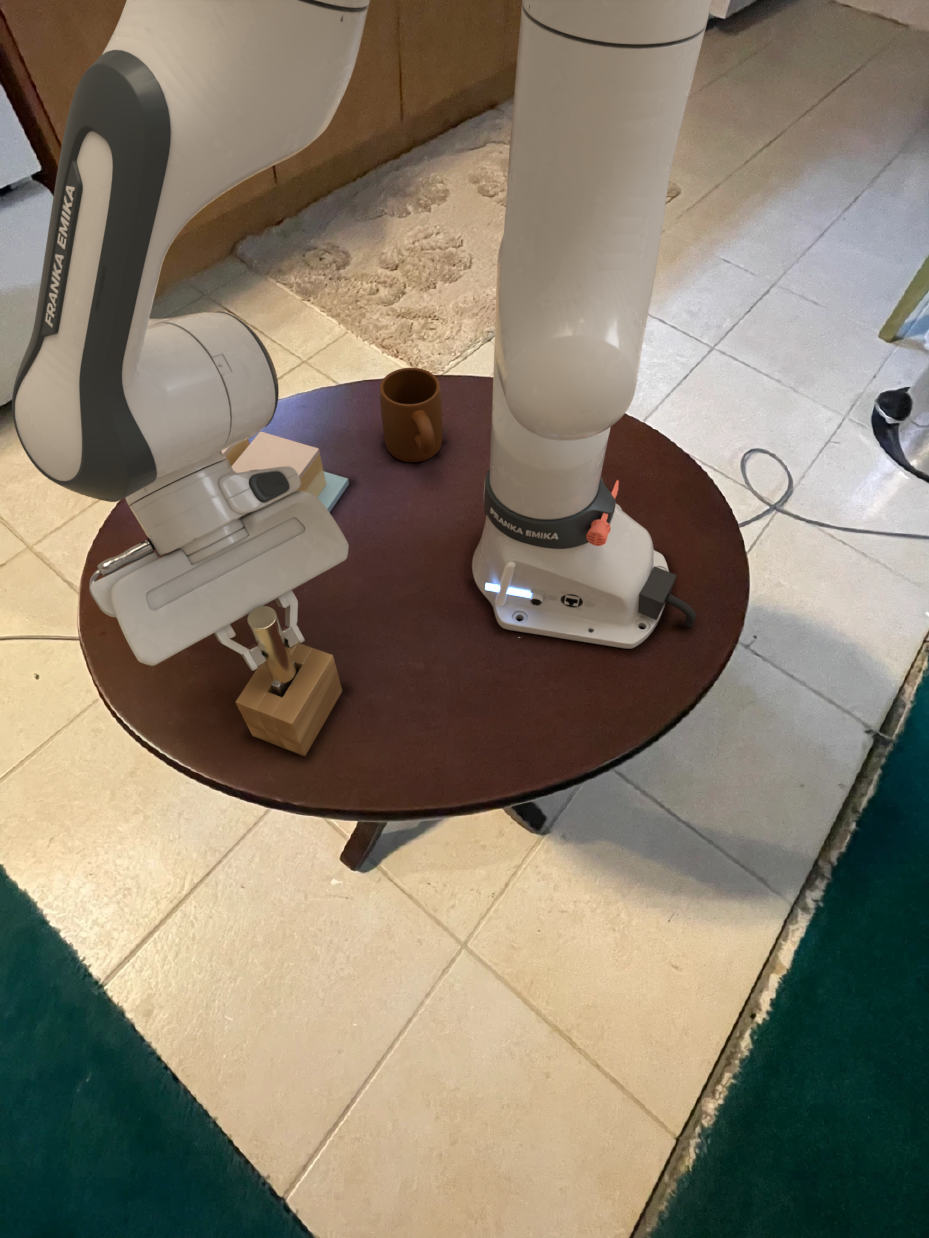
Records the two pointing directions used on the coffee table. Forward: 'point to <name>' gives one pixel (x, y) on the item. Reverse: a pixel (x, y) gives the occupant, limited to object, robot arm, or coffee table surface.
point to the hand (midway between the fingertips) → (278, 655)
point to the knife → (273, 648)
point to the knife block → (292, 701)
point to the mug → (411, 414)
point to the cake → (293, 465)
